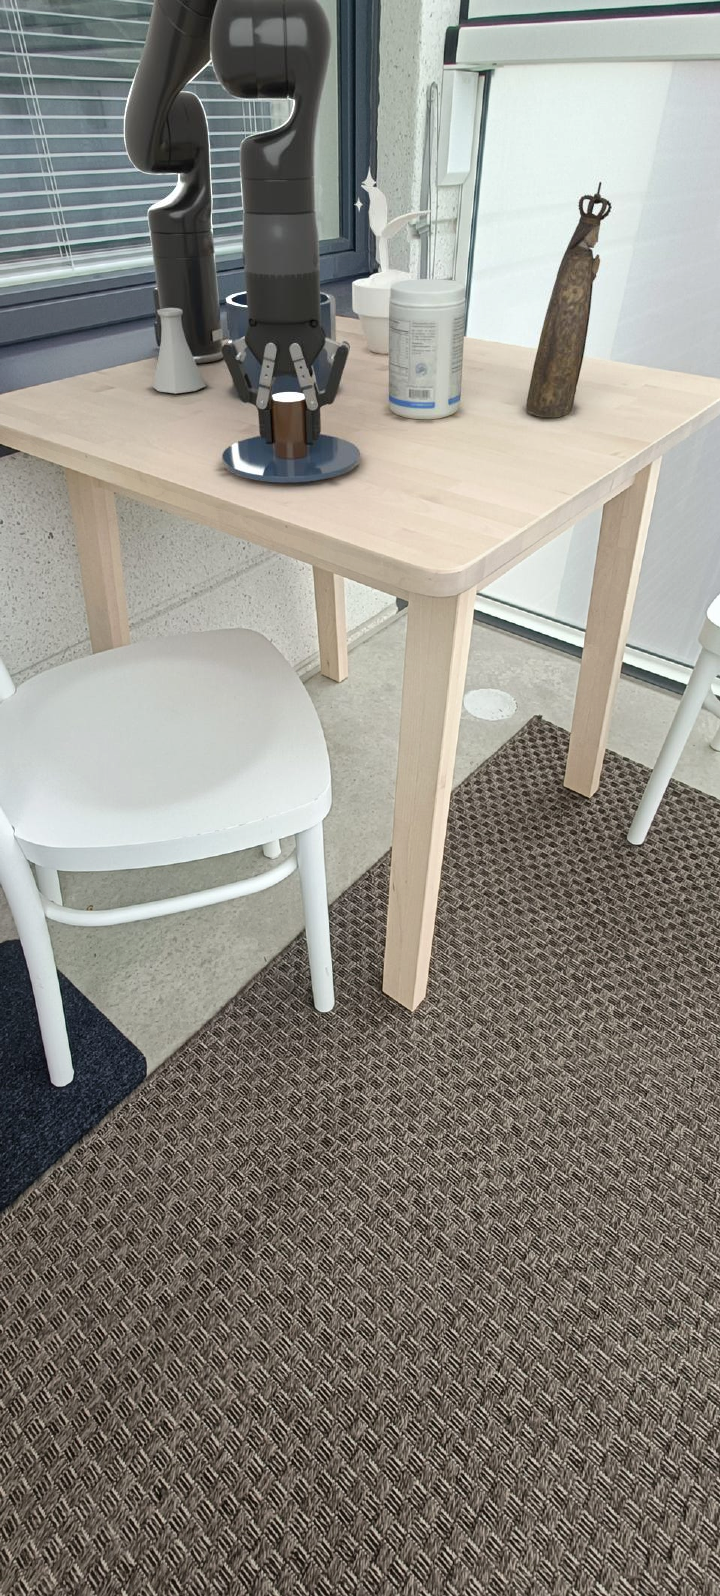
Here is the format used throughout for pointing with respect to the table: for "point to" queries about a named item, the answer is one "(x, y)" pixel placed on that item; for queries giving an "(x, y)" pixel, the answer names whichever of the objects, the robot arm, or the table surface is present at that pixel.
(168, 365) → the flask
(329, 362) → the robot arm
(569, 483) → the table surface
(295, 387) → the canister
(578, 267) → the statue
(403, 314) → the supplement tub
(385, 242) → the potted plant
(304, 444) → the lid
